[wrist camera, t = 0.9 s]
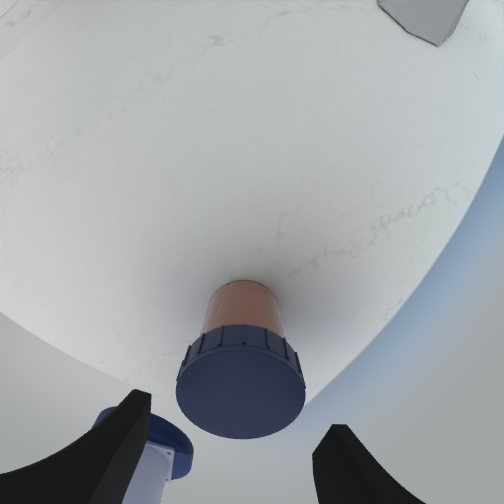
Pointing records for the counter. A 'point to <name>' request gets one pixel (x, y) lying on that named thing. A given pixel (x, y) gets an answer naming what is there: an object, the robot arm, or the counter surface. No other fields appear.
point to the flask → (427, 17)
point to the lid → (240, 382)
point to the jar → (243, 307)
